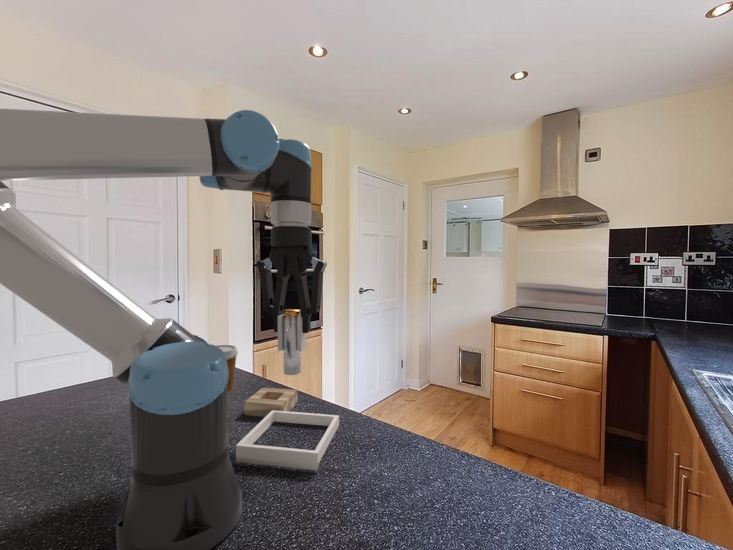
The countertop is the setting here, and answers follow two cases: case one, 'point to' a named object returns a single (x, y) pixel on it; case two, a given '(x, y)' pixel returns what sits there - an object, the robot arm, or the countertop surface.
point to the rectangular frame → (280, 454)
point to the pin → (291, 342)
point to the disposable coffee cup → (230, 362)
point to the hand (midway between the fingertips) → (292, 349)
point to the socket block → (270, 401)
